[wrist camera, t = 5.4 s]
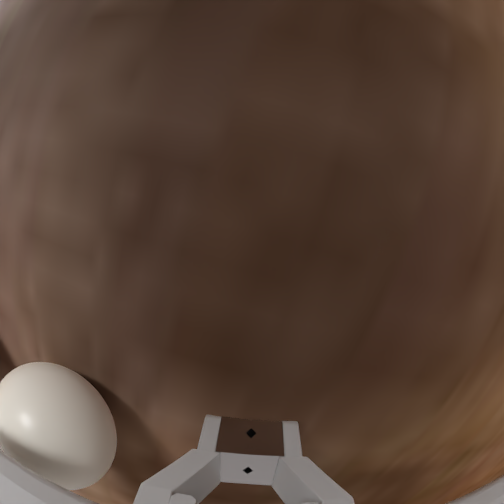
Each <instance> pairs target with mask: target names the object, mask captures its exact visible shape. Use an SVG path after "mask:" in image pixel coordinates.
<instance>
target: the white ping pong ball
mask: <svg viewBox="0 0 504 504" xmlns="http://www.w3.org/2000/svg"><path fill="white" fill-rule="evenodd" d="M0 445H1V447H2V449H3V451H4V452H5V453H6V454H8V455H9V456H10V457H12V458H13V459H15V460H16V461H18V462H19V463H21V464H23V465H24V466H26V467H27V468H29V469H31V470H32V471H34V472H36V473H37V474H39V475H41V476H42V477H44V478H46V479H48V480H50V481H51V482H53V483H55V484H57V485H59V486H61V487H63V488H65V489H67V490H77V489H82V488H85V487H88V486H90V485H92V484H94V483H96V482H97V481H98V480H100V479H101V478H102V477H103V476H104V475H105V474H106V473H107V471H108V470H109V468H110V467H111V465H112V462H113V460H114V457H115V453H116V448H117V434H116V427H115V423H114V420H113V416H112V414H111V412H110V409H109V407H108V406H107V404H106V402H105V401H104V399H103V397H102V396H101V395H100V393H99V392H98V391H97V390H96V389H95V387H94V386H93V385H92V384H90V383H89V382H88V381H87V380H86V379H85V378H84V377H82V376H81V375H79V374H78V373H76V372H75V371H73V370H71V369H69V368H67V367H64V366H61V365H58V364H54V363H49V362H32V363H27V364H24V365H21V366H19V367H17V368H15V369H13V370H12V371H11V372H9V373H8V374H7V375H6V376H5V377H4V378H3V379H2V381H1V382H0Z"/></svg>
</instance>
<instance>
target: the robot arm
mask: <svg viewBox="0 0 504 504" xmlns="http://www.w3.org/2000/svg"><path fill="white" fill-rule="evenodd" d="M220 482H228V483H244V484H257V485H272V487H273V489H274V490H275V491H276V493H277V494H278V495H279V497H280V498H281V499H282V501H283V502H284V503H285V504H354V499H353V497H352V496H351V495H350V494H348V493H347V492H346V491H345V490H344V489H343V488H341V487H340V486H339V485H338V484H337V483H336V482H334V481H333V480H332V479H331V478H330V477H329V476H328V475H326V474H325V473H324V472H323V471H322V470H321V469H320V468H319V467H318V466H317V465H316V464H314V463H313V462H312V461H311V460H310V459H309V458H308V457H303V456H302V448H301V440H300V433H299V425H298V422H297V421H270V420H248V419H239V418H230V417H223V416H222V417H221V416H214V415H206V416H205V419H204V423H203V427H202V431H201V435H200V439H199V443H198V447H197V449H191V450H190V451H189V452H187V453H186V454H184V455H183V456H182V457H180V458H179V459H177V460H176V461H174V462H173V463H171V464H170V465H169V466H167V467H166V468H164V469H163V470H161V471H159V472H158V473H156V474H155V475H153V476H152V477H150V478H149V479H147V480H145V481H144V482H142V483H141V485H140V487H139V490H138V492H137V495H136V498H135V500H134V503H133V504H199V503H200V502H201V501H202V500H203V499H204V498H205V497H206V496H207V495H208V494H209V493H210V492H211V491H213V490H214V489H215V488H216V487H217V486H218V485H219V484H220ZM0 504H99V503H96V502H94V501H91V500H89V499H87V498H84V497H82V496H80V495H78V494H75V493H73V492H71V491H69V490H67V489H65V488H63V487H61V486H59V485H57V484H55V483H53V482H51V481H50V480H48V479H46V478H44V477H42V476H41V475H39V474H37V473H36V472H34V471H32V470H31V469H29V468H27V467H26V466H24V465H23V464H21V463H19V462H18V461H16V460H15V459H13V458H12V457H10V456H9V455H8V454H6V453H5V452H3V451H2V450H1V449H0ZM446 504H504V475H502V476H501V477H499V478H497V479H495V480H494V481H492V482H490V483H488V484H486V485H484V486H483V487H481V488H479V489H477V490H475V491H473V492H471V493H468V494H466V495H464V496H462V497H460V498H458V499H455V500H453V501H451V502H448V503H446Z"/></svg>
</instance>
